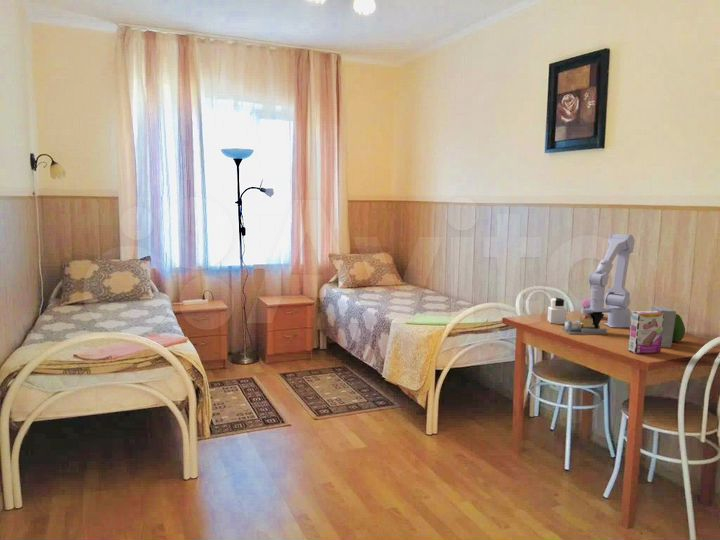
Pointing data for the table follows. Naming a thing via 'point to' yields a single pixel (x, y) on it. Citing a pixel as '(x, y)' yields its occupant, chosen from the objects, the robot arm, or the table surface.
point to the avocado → (678, 329)
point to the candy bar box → (646, 332)
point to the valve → (586, 322)
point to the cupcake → (586, 304)
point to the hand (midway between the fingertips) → (595, 328)
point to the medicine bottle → (557, 311)
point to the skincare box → (666, 324)
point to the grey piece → (576, 328)
